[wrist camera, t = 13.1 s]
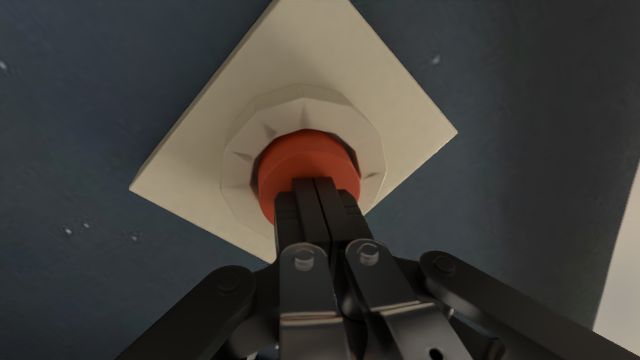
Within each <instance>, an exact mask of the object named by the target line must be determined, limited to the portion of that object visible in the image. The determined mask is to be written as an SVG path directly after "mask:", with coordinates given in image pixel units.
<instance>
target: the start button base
mask: <svg viewBox="0 0 640 360" xmlns="http://www.w3.org/2000/svg"><path fill="white" fill-rule="evenodd" d="M300 129H314V130H320V131H323V132H326V133H328V134H330V135H332V136H333V137H334V138H336V139H337V140H338V141H339V142H340V143H341V144H342V146H343V147H344V149H345V151H346V153H347V155H348V156H349V158H350V160H351V162H352V164H353V166H354V168H355V170H356V171H357V173H358V176H359V179H360V184H361V191H360V197H359V201H358V203H357V204H358V207H359V208H360V210H361V212H362V215H363V216H364V215H365V214H366V213H367V212H368V211H369V210H370V209H372V208H373V207H374V206H375V205H376V204H377V203H378V202H380V201H381V200H382V199H383V198H384V197H385V196H386V195H388V194H389V193H390V192H391V191H392V190H393V189H394V188H396V187H397V186H398V185H399V184H400V183H401V182H402V181H404V180H405V179H406V178H407V177H408V176H409V175H410V174H412V173H413V172H414V171H415V170H416V169H417V168H418V167H420V166H421V165H422V164H423V163H424V162H425V161H426V160H428V159H429V158H430V157H431V156H432V155H433V154H434V153H436V152H437V151H438V150H439V149H440V148H441V147H442V146H444V145H445V144H446V143H447V142H448V141H449V140H450V139H451V138H453V137H454V136H455V135H456V134H457V133H458V132H457V130H456V129H455V128H454V127H453V125H452V124H451V123H450V122H449V121H448V119H447V118H446V117H445V116H444V115H443V113H442V112H441V111H440V110H439V108H438V107H437V106H436V105H435V104H434V102H433V101H432V100H431V99H430V98H429V96H428V95H427V94H426V93H425V92H424V90H423V89H422V88H421V87H420V86H419V84H418V83H417V82H416V81H415V80H414V78H413V77H412V76H411V75H410V74H409V72H408V71H407V70H406V69H405V68H404V66H403V65H402V64H401V63H400V61H399V60H398V59H397V58H396V57H395V55H394V54H393V53H392V52H391V51H390V49H389V48H388V47H387V46H386V45H385V43H384V42H383V41H382V40H381V39H380V37H379V36H378V35H377V34H376V33H375V31H374V30H373V29H372V28H371V27H370V25H369V24H368V23H367V22H366V21H365V19H364V18H363V17H362V16H361V15H360V13H359V12H358V11H357V10H356V8H355V7H354V6H353V5H352V4H351V2H350V1H349V0H273V1H272V2H271V3H270V4H269V6H268V7H267V8H266V9H265V11H264V12H263V13H262V15H261V16H260V17H259V18H258V20H257V21H256V22H255V23H254V25H253V26H252V27H251V28H250V30H249V31H248V32H247V33H246V35H245V36H244V37H243V38H242V40H241V41H240V42H239V43H238V45H237V46H236V47H235V49H234V50H233V51H232V52H231V54H230V55H229V56H228V57H227V59H226V60H225V61H224V62H223V64H222V65H221V66H220V67H219V69H218V70H217V71H216V72H215V74H214V75H213V76H212V78H211V79H210V80H209V81H208V83H207V84H206V85H205V86H204V88H203V89H202V90H201V91H200V93H199V94H198V95H197V96H196V98H195V99H194V100H193V101H192V103H191V104H190V105H189V107H188V108H187V109H186V110H185V112H184V113H183V114H182V115H181V117H180V118H179V119H178V120H177V122H176V123H175V124H174V125H173V127H172V128H171V129H170V130H169V132H168V133H167V134H166V136H165V137H164V138H163V139H162V141H161V142H160V143H159V144H158V146H157V147H156V148H155V149H154V151H153V152H152V153H151V154H150V156H149V157H148V158H147V159H146V161H145V162H144V163H143V165H142V166H141V168H140V169H139V171H138V173H137V175H136V176H135V178H134V180H133V181H132V183H131V185H130V187H129V190H130V191H132V192H134V193H136V194H138V195H140V196H142V197H144V198H146V199H147V200H149V201H151V202H153V203H155V204H157V205H159V206H161V207H163V208H165V209H167V210H169V211H170V212H172V213H174V214H176V215H178V216H180V217H182V218H184V219H186V220H188V221H190V222H192V223H193V224H195V225H197V226H199V227H201V228H203V229H205V230H207V231H209V232H211V233H213V234H215V235H216V236H218V237H220V238H222V239H224V240H226V241H228V242H230V243H232V244H234V245H236V246H238V247H239V248H241V249H243V250H245V251H247V252H249V253H251V254H253V255H255V256H257V257H259V258H260V259H262V260H264V261H266V262H268V263H270V264H272V263H273V262H274V261H275V259H276V248H275V237H274V226H273V225H272V224H271V223H270V222H269V221H268V220H267V219H266V217H265V216H264V214H263V212H262V210H261V208H260V204H259V189H258V165H259V161H260V158H261V156H262V154H263V152H264V151H265V149H266V148H267V147H268V145H269V144H270V143H271V142H272V141H274V140H275V139H276V138H278V137H279V136H282V135H285V134H288V133H291V132H294V131H297V130H300Z"/></svg>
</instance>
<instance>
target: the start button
mask: <svg viewBox="0 0 640 360" xmlns="http://www.w3.org/2000/svg"><path fill="white" fill-rule="evenodd" d="M308 177H311V178H312V177H332V179H333V181H334V184H335V186H336V189H346V190H347V191H348V192H349V193H350V194H352V195H353V196H354V197H355V199H356V202H357V203H358V201H359V197H360V191H361V184H360V179H359V176H358V173H357V171H356V170H355V168H354V166H353V164H352V162H351V160H350V158H349V156H348V155H347V153H346V151H345V149H344V147H343V146H342V144H341V143H340V142H339V141H338V140H337V139H336V138H334V137H333V136H332V135H330V134H328V133H326V132H323V131H320V130H314V129H300V130H297V131H294V132H291V133H288V134H285V135H282V136H279V137H278V138H276V139H275V140H274V141H272V142H271V143H270V144H269V145H268V147H267V148H266V149H265V151H264V152H263V154H262V156H261V158H260V161H259V165H258V189H259V204H260V208H261V210H262V212H263V214H264V216H265V217H266V219H267V220H268V221H269V222H270V223H271V224H272V225H273V226H274V199H275V198H276V196H277V194H278V192H281V191H291V182H292V178H308Z"/></svg>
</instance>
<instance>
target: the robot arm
mask: <svg viewBox="0 0 640 360" xmlns="http://www.w3.org/2000/svg"><path fill="white" fill-rule="evenodd" d="M274 237H275V248H276V259H275V261H274V262H273V263H272V264H271V265H269V266H268V267H266V268H264V269H262V270H259V271H256V272H253V273H252V272H251V271H250V270H248V269H247V268H245V267H242V266H236V265H230V266H224V267H221V268H218V269H216V270H214V271H213V272H211V273H210V274H209V275H208V276H206V277H205V278H204V279H203V280H202V281H201V282H200V283H199V284H197V285H196V286H195V287H194V288H193V289H192V290H191V291H190V292H189V293H187V294H186V295H185V296H184V297H183V298H182V299H181V300H180V301H179V302H177V303H176V304H175V305H174V306H173V307H172V308H171V309H170V310H169V311H167V312H166V313H165V314H164V315H163V316H162V317H161V318H160V319H159V320H157V321H156V322H155V323H154V324H153V325H152V326H151V327H150V328H149V329H147V330H146V331H145V332H144V333H143V334H142V335H141V336H140V337H139V338H137V339H136V340H135V341H134V342H133V343H132V344H131V345H130V346H129V347H127V348H126V349H125V350H124V351H123V352H122V353H121V354H120V355H119V356H117V357H116V358H115V359H114V360H254V359H255V357H256V355H257V353H258V351H260V350H262V349H265V348H267V347H269V346H271V345H273V344H275V343H277V342H279V355H278V360H640V357H639V356H637V355H636V354H634V353H632V352H630V351H628V350H626V349H625V348H623V347H621V346H619V345H617V344H615V343H613V342H611V341H610V340H608V339H606V338H604V337H602V336H601V335H599V334H597V333H595V332H593V331H591V330H589V329H588V328H586V327H584V326H582V325H580V324H578V323H577V322H575V321H573V320H571V319H569V318H567V317H565V316H564V315H562V314H560V313H558V312H556V311H554V310H552V309H551V308H549V307H547V306H545V305H543V304H541V303H540V302H538V301H536V300H534V299H532V298H530V297H528V296H527V295H525V294H523V293H521V292H519V291H517V290H516V289H514V288H512V287H510V286H508V285H506V284H504V283H503V282H501V281H499V280H497V279H495V278H493V277H491V276H490V275H488V274H486V273H484V272H482V271H480V270H479V269H477V268H475V267H473V266H471V265H469V264H467V263H466V262H464V261H462V260H460V259H458V258H456V257H455V256H453V255H451V254H448V253H446V252H442V251H428V252H426V253H424V254H423V255H422V256H421V257H420V260H419V261H413V260H407V259H402V258H397V257H394V256H392V255H391V253H390V251H389V250H388V249H387V248H386V247H385V246H384V245H383V244H381V243H380V242H377V241H375V240H374V238H373V236H372V234H371V232H370V229H369V227H368V225H367V223H366V221H365V219H364V217H363V215H362V212H361V210H360V208H359V207H358V204H357V202H356V199H355V197H354V196H353V195H352V194H350V193H349V192H348V191H347V190H346V189H336V186H335V184H334V181H333V179H332V177H312V178H311V177H308V178H292V182H291V191H281V192H278V194H277V196H276V198H275V199H274ZM334 293H335V295H336V298H337V306H336V305H335V299H334ZM454 309H455V310H456V311H458V312H459V313H461V314H462V315H464V316H466V317H467V318H469V319H470V320H472V321H473V322H475V323H477V324H478V325H480V326H481V327H483V328H485V329H486V330H488V331H489V332H491V333H492V334H494V335H496V336H497V337H498V338H499V339H500V340H501V341H502V342H494V341H492V340H490V339H488V338H486V337H485V336H483V335H482V334H480V333H479V332H477V331H476V330H474V329H472V328H471V327H469V326H468V325H466V324H465V323H463V322H462V321H460V320H459V319H457V318H455V317H454V316H452V313H453V311H454Z"/></svg>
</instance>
